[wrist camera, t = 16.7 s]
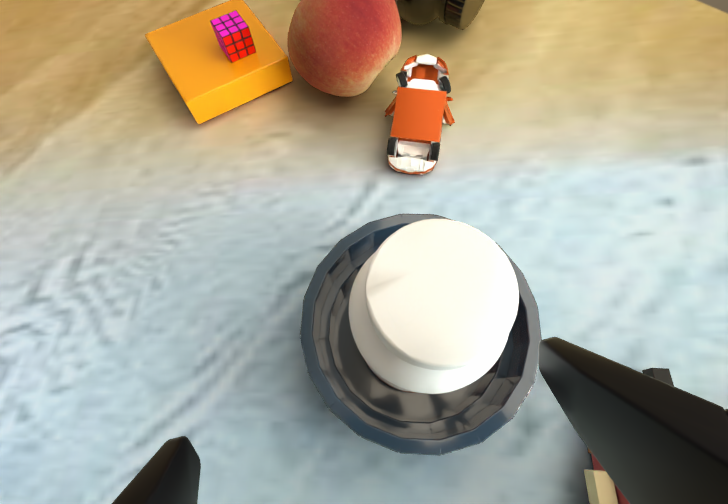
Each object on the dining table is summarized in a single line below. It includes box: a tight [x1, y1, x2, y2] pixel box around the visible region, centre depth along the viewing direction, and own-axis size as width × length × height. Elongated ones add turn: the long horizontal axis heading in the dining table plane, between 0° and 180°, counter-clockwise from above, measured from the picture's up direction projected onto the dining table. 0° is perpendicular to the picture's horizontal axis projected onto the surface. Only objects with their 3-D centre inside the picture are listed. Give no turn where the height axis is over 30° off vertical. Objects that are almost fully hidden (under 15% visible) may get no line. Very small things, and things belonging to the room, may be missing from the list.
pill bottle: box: [349, 219, 519, 394], centre depth 17 cm, size 6×6×11 cm
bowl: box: [300, 214, 542, 455], centre depth 20 cm, size 11×11×5 cm
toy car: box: [385, 54, 455, 175], centre depth 26 cm, size 5×8×3 cm, turn 171°
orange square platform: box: [145, 0, 293, 124], centre depth 28 cm, size 8×8×4 cm
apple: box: [288, 0, 402, 97], centre depth 26 cm, size 8×8×8 cm
